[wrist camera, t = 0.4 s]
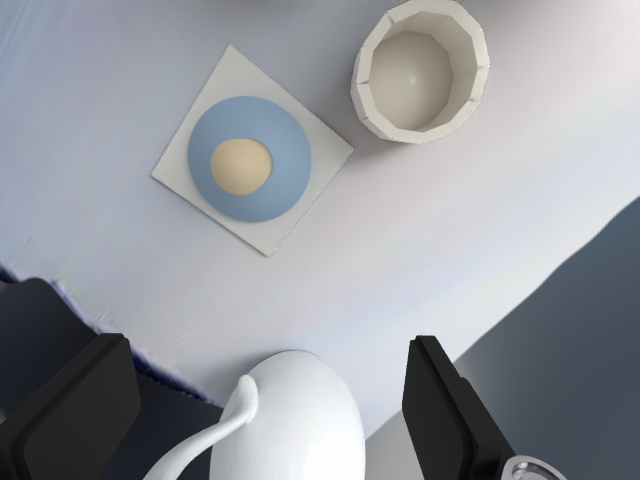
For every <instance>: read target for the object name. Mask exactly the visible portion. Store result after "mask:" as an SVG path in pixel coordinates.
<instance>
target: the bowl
mask: <svg viewBox="0 0 640 480" xmlns="http://www.w3.org/2000/svg"><path fill="white" fill-rule="evenodd" d="M456 3H457V1H451V0H410V1H408V2H406V3H404V4H402V5H400V6H397V7H395V8H393V9H391V10H389V11H387V12H386V13H385V14H384V15H383V17H382V18H381V20H380V21H379V22H378V24H377V25H376V27H375V28H374V29H373V31H372V32H371V33H370V35H369V36H368V38H367V39H366V40H365V42H364V43H363V45H362V47H361V49H360V51H359V53H358V55H357V57H356V59H355V63H354V69H353V74H352V81H351V88H350V91H351V92H350V94H351V97H352V100H353V104H354V108H355V110H356V112H357V115H358V118H359V120H361V121H360V122H362V123H363V124H364V125H365V126H366V127H367V128H368V129H369V130H370V131H371V132H373V133H374V134H375V135H377V136H378V137H379V138H381V139H385V140H391V141H398V142H404V143H413V144H426V143H429V142H431V141H434V140H436V139H439V138H441V137H444V136H446V135H449V134H451V133H454V131H457V129H458V128H459V127H460V126H461V125H462V124H463V122H464V121H465V120H466V119H467V118H468V117H469V116H470V114H471V113H472V112H473V111H474V110H475V109H476V108H477V106H478V105H479V104H478V103H480V101H481V98H482V94H483V91H484V87H485V84H486V80H487V77H488V73H489V70H490V67H487V66H490V61H489V56H488V51H487V46H486V41H485V36H484V31H483V30H481V29H482V27H481V26H480V25H479V24H478V23H477V22H476V20H475V19H474V18H473V17H472V16H471V15H470V14H469V13H468V12H467V11H466V10H465V9H464V8H463V7H462V6H461V5H460V4H459V2H458V3H457V4H456Z"/></svg>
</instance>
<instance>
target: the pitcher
mask: <svg viewBox="0 0 640 480" xmlns="http://www.w3.org/2000/svg"><path fill="white" fill-rule="evenodd" d="M211 445H213V449H212V455H211V463H210V480H364V477H365V439H364V432H363V426H362V421H361V417H360V413H359V410H358V407H357V404H356V402H355V399H354V397H353V395H352V393H351V391H350V389H349V387H348V386H347V384H346V383H345V381H344V380H343V378H342V377H341V376H340V375H339V374H338V372H337V371H336V370H335V369H334V368H333V367H332V366H331V365H330V364H328V363H327V362H326V361H324V360H323V359H321V358H320V357H318V356H316V355H314V354H311V353H308V352H304V351H285V352H281V353H278V354H275V355H273V356H271V357H269V358H267V359H265V360H264V361H262V362H261V363H259V364H258V365H257V366H255V367H254V368H253V369H252V370H251V371H250V372H249V373H248V374H245V375H242V376H241V377H240V379H239V381H238V386H237V387H236V388H235V390H234V392H233V393H232V395H231V397H230V398H229V400H228V402H227V404H226V407H225V409H224V411H223V413H222V416H221V419H220V421H219V423H217V424H215V425H213V426H211V427H209V428H207V429H204V430H203V431H201V432H199V433H197V434H195V435H193V436H191V437H189V438H187V439H186V440H184V441H183V442H181V443H180V444H178V445H177V446H176V447H174V448H173V449H172V450H170V451H169V452H168V453H167V454H165V455H164V456H163V457H162V458H161V459H160V460H159V461H158V462H157V463H156V464H155V465H154V466H153V467H152V469H151V470H150V471H149V472H148V474H147V475H146V476H145V478H144V479H143V480H176V479H177V477H178V476H179V474H180V473H181V472H182V470H183V469H184V467H186V465H188V464H189V462H190V461H191V460H193V459H194V458H195V457H196V456H197V455H199V454H200V453H201V452H203V451H204V450H205V449H207V448H208V447H210V446H211Z"/></svg>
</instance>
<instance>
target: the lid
mask: <svg viewBox="0 0 640 480" xmlns="http://www.w3.org/2000/svg"><path fill="white" fill-rule="evenodd" d="M188 163H189V168H190V172H191V175H192V178H193V181H194V183H195V185H196V187H197V189H198V190H199V192H200V193H201V195H202V196H203V197H204V198H205V200H206V201H207V202H208V203H209V204H210V205H211V206H213V207H214V208H215V209H216V210H218V211H219V212H221V213H223V214H224V215H227V216H229V217H231V218H234V219H237V220H241V221H246V222H261V221H267V220H271V219H274V218H276V217H278V216H280V215H282V214H284V213H285V212H287V211H288V210H290V209H291V208H292V207H293V206H294V205H295V204H296V203H297V202H298V201H299V199H300V198H301V196H302V195H303V193H304V191H305V189H306V187H307V184H308V181H309V177H310V172H311V154H310V148H309V145H308V142H307V139H306V136H305V134H304V132H303V130H302V129H301V127H300V126H299V124H298V123H297V122H296V120H295V119H294V118H293V117H292V116H291V115H290V114H289V113H288V112H287V111H285V110H284V109H283V108H281V107H280V106H278V105H276V104H275V103H273V102H271V101H268V100H265V99H263V98H258V97H253V96H237V97H232V98H228V99H225V100H222V101H220V102H218V103H217V104H215V105H213V106H212V107H211V108H209V109H208V110H207V111H206V112H205V113H204V114H203V115H202V116H201V117H200V119H199V120H198V122H197V123H196V125H195V127H194V129H193V131H192V134H191V137H190V141H189V146H188Z"/></svg>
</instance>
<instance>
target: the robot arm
mask: <svg viewBox="0 0 640 480" xmlns="http://www.w3.org/2000/svg"><path fill="white" fill-rule="evenodd" d="M140 407H141V401H140V395H139V390H138V385H137V380H136V375H135V369H134V364H133V359H132V353H131V348H130V343H129V340H128V339H127V338H125V337H124V335H123V334H121V333H102V334H100V335H98V336H97V337H96V338H95V339H94V340H93V341H92V342H91V343H90V344H89V345H87V346H86V347H85V348H84V349H83V350H82V351H81V352H80V353H79V354H78V355H77V356H75V357H74V358H73V359H72V360H71V361H70V362H69V363H68V364H67V365H65V366H64V367H63V368H62V369H61V370H60V371H59V372H58V373H57V374H56V375H54V376H53V377H52V378H51V379H50V380H49V381H48V382H47V383H46V384H45V385H43V386H42V387H41V388H40V389H39V390H38V391H37V392H36V393H35V394H34V395H32V396H31V397H30V398H29V399H28V400H27V401H26V402H25V403H24V404H23V405H21V406H20V407H19V408H18V409H17V410H16V411H15V412H14V413H13V414H12V415H11V416H9V417H8V418H7V419H6V420H5V421H4V422H3V423H2V424H1V425H0V480H97V478H98V477H99V475H100V474H101V472H102V470H103V469H104V467H105V466H106V464H107V462H108V461H109V459H110V458H111V456H112V455H113V453H114V452H115V450H116V448H117V447H118V445H119V444H120V442H121V441H122V439H123V437H124V436H125V434H126V433H127V431H128V430H129V428H130V427H131V425H132V423H133V422H134V420H135V419H136V417H137V415H138V414H139V411H140ZM402 411H403V415H404V418H405V422H406V424H407V427H408V431H409V433H410V436H411V440H412V443H413V446H414V449H415V452H416V455H417V458H418V461H419V464H420V467H421V470H422V473H423V476H424V479H425V480H567V479H566V478H565V477H563V475H561V474H560V473H559V472H558V471H557V470H556V469H554V468H553V467H551V466H549V465H548V464H546V463H544V462H543V461H540V460H538V459H535V458H532V457H527V456H516V454H515V453H514V451H513V450H512V448H511V446H510V445H509V443H508V442H507V440H506V439H505V437H504V436H503V434H502V432H501V431H500V430H499V428H498V426H497V425H496V423H495V422H494V420H493V419H492V417H491V415H490V414H489V412H488V411H487V409H486V408H485V406H484V405H483V403H482V401H481V400H480V398H479V397H478V395H477V394H476V392H475V391H474V389H473V388H472V386H471V385H470V383H469V382H468V380H467V379H465V378H463V377H460V376H459V374H458V372H457V371H456V369H455V368H454V366H453V364H452V363H451V361H450V359H449V358H448V356H447V354H446V353H445V351H444V350H443V348H442V346H441V345H440V343H439V342H438V340H437V338H436V337H435V336H423V335H417V336H416V338H415V340H411V341H410V346H409V353H408V361H407V369H406V376H405V384H404V392H403V400H402Z"/></svg>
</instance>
